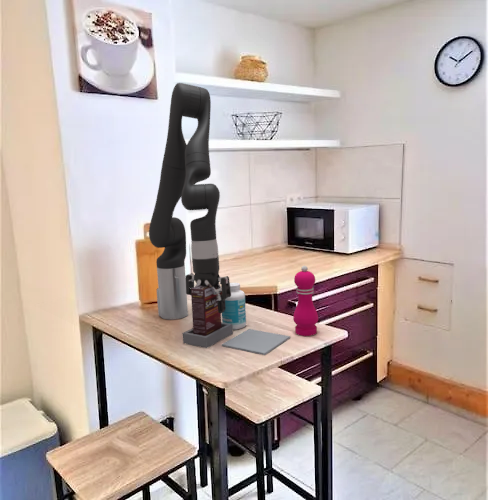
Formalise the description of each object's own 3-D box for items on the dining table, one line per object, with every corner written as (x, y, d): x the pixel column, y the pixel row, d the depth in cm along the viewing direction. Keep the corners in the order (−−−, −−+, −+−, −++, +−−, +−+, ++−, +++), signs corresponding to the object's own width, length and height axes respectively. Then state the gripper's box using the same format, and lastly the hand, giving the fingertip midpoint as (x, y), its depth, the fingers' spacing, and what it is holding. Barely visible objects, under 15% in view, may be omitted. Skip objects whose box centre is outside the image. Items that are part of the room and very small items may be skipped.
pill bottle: (243, 330, 141) (241, 287, 139) (219, 330, 142) (217, 287, 140) (248, 322, 148) (246, 281, 146) (225, 322, 150) (223, 281, 147)
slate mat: (221, 346, 129) (221, 344, 129) (249, 330, 141) (249, 328, 141) (264, 355, 122) (264, 353, 122) (290, 337, 133) (290, 336, 133)
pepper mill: (321, 335, 134) (320, 267, 131) (297, 337, 133) (295, 269, 129) (314, 327, 141) (312, 262, 138) (290, 329, 140) (288, 264, 136)
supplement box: (207, 344, 131) (203, 289, 128) (193, 342, 133) (189, 288, 130) (223, 334, 138) (220, 282, 136) (209, 332, 141) (206, 281, 138)
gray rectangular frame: (183, 343, 133) (182, 333, 133) (210, 329, 143) (209, 320, 143) (206, 348, 128) (205, 337, 128) (232, 333, 139) (232, 324, 138)
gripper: (177, 256, 133) (182, 311, 135) (217, 259, 125) (222, 317, 128) (193, 252, 139) (197, 304, 141) (233, 254, 131) (237, 309, 134)
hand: (209, 310), depth 134 cm, fingers open, 8 cm apart
